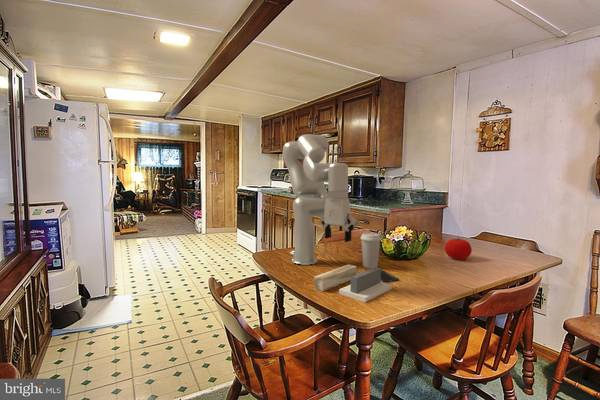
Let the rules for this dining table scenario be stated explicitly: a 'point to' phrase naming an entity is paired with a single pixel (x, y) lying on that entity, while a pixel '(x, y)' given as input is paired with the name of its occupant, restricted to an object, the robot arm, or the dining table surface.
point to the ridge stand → (366, 285)
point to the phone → (387, 277)
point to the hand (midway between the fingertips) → (337, 239)
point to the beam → (334, 277)
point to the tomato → (458, 249)
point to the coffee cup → (370, 249)
